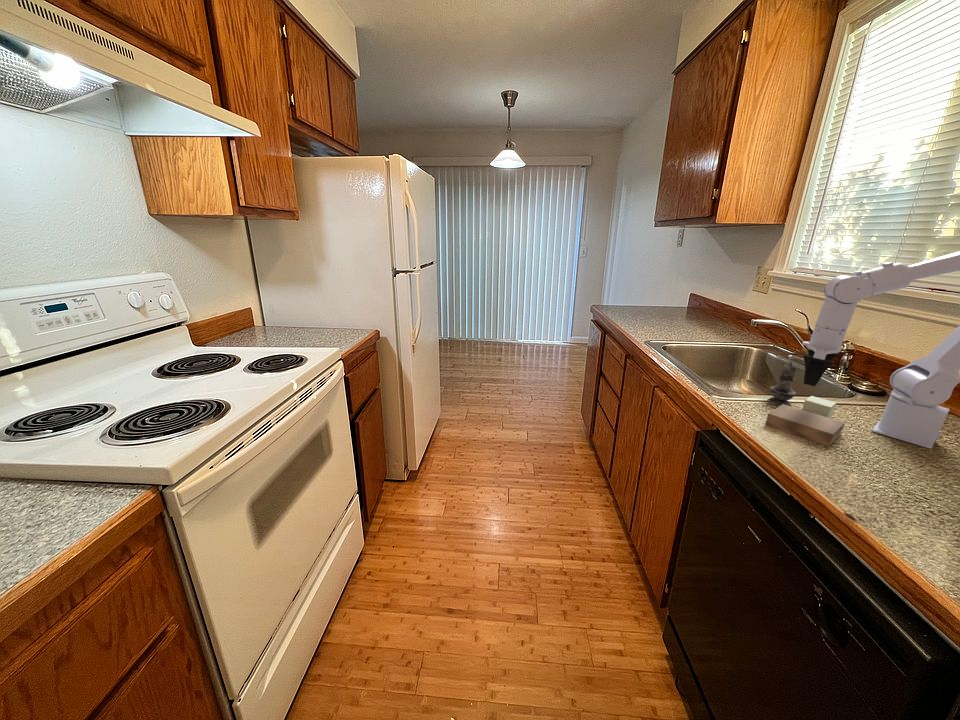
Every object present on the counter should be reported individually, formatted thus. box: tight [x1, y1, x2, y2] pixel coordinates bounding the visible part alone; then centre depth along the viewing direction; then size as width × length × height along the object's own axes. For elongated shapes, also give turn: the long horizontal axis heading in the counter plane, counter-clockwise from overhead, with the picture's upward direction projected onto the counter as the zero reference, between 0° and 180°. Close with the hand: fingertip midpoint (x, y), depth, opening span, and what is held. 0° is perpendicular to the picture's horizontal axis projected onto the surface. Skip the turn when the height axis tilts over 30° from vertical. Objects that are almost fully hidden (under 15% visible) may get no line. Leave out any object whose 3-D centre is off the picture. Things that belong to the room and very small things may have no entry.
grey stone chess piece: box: [767, 361, 797, 407], centre depth 104 cm, size 6×6×12 cm
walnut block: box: [764, 404, 845, 447], centre depth 90 cm, size 12×10×3 cm
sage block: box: [801, 395, 837, 419], centre depth 95 cm, size 5×5×5 cm
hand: (811, 381), depth 94 cm, fingers open, 7 cm apart
